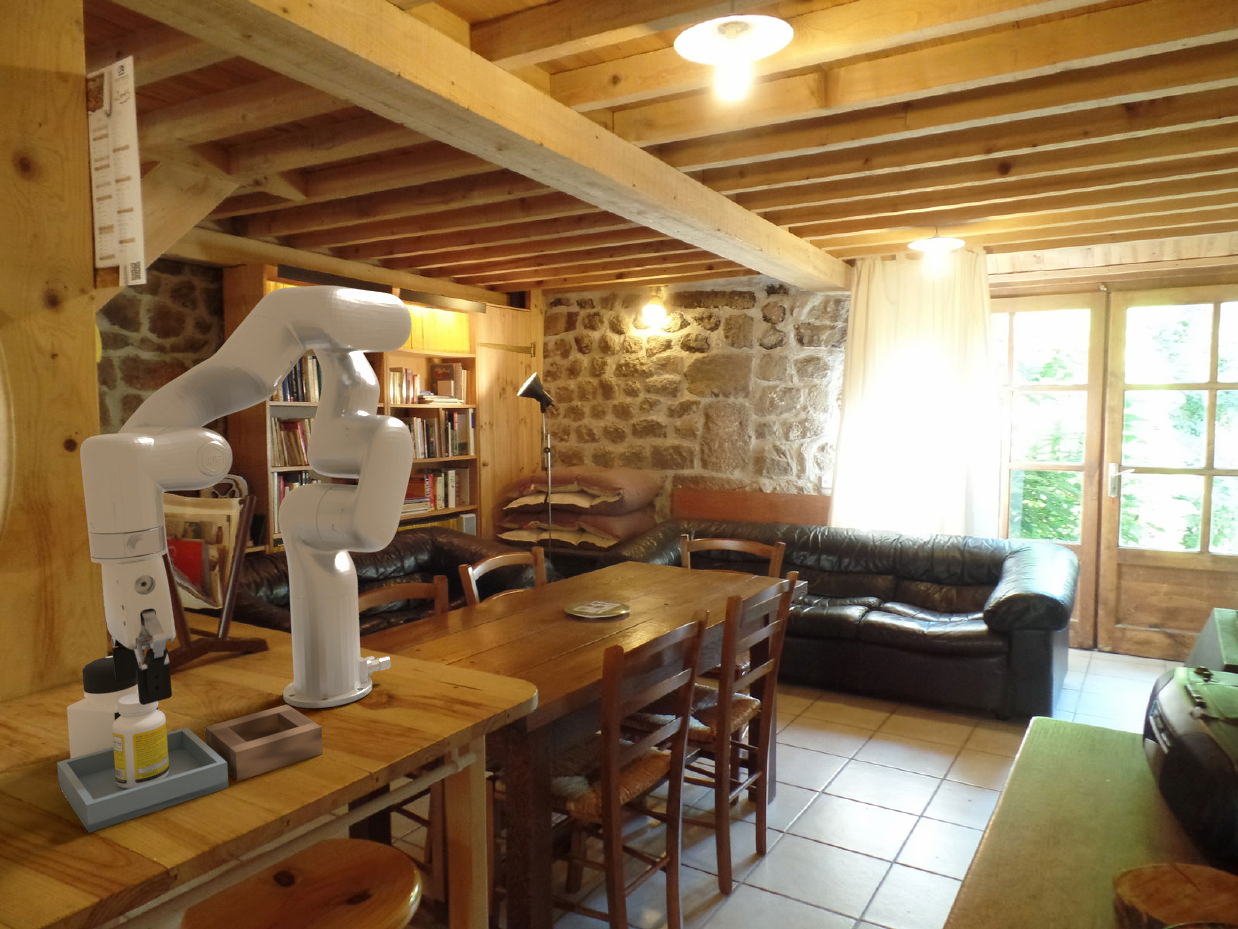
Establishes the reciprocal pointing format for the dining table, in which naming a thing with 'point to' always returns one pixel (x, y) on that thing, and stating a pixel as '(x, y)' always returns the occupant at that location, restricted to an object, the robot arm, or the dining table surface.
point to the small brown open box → (264, 741)
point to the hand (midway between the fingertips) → (143, 688)
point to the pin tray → (109, 804)
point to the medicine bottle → (97, 708)
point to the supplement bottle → (139, 743)
